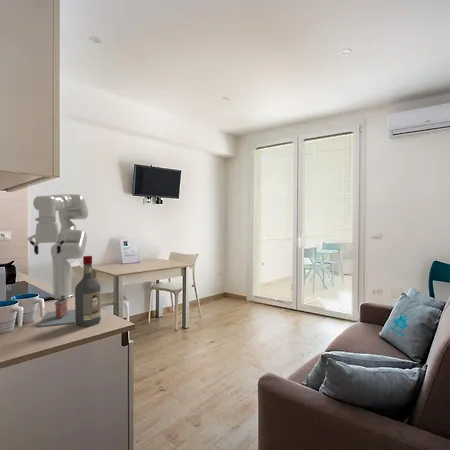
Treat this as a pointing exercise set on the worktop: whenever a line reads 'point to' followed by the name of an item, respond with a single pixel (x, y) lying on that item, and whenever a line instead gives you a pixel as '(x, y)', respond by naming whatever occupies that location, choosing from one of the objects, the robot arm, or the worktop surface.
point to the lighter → (61, 307)
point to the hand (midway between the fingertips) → (47, 253)
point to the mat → (51, 321)
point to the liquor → (87, 297)
